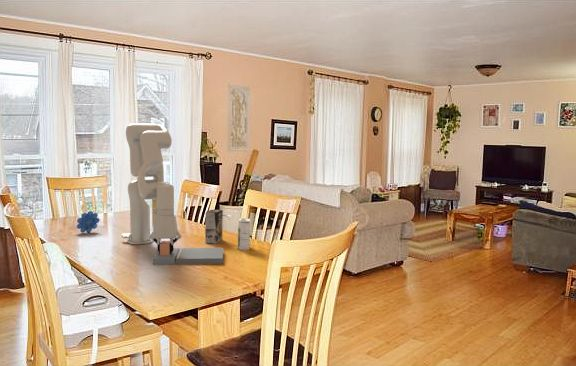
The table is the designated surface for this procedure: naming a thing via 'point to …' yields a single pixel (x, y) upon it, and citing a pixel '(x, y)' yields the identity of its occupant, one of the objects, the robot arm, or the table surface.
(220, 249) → the board
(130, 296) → the table surface
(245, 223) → the syrup box
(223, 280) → the table surface
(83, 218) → the grapes
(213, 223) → the coffee box
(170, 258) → the stub
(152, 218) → the juice carton
